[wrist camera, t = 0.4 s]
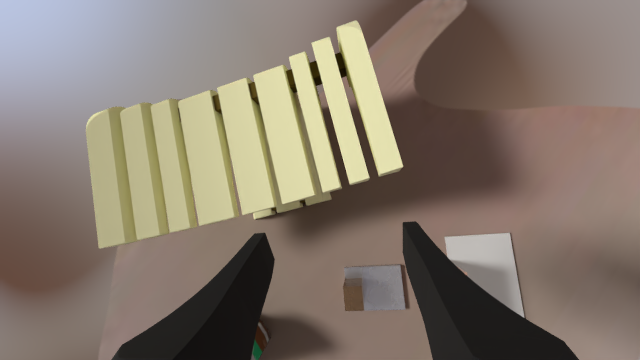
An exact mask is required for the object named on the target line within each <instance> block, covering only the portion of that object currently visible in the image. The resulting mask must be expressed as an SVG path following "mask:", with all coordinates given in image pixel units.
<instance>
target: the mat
mask: <svg viewBox="0 0 640 360" xmlns="http://www.w3.org/2000/svg"><path fill="white" fill-rule="evenodd" d="M445 243H446V250H447V257H448V258H449V259H450V260H451V261H452V262H453V263H454V264H455V265H456V266H457V267H459V268H461V269H462V270H464V271H465V272H467V274H468V277H469V278H470V279H471V280H473V281H474V282H475V283H476V284H477V285H479V286H480V287H481V288H482V289H484V290H485V291H486V292H488V293H489V294H490V295H492V296H493V297H494V298H496V299H497V300H499V301H500V302H501V303H503V304H504V305H506V306H507V307H508V308H510V309H511V310H513V311H514V312H516V313H517V314H519V315H521V316H522V317H524V312H523V307H522V301H521V295H520V289H519V284H518V278H517V272H516V266H515V260H514V255H513V249H512V243H511V237H510V233H498V234H482V235H465V236H449V237H445Z"/></svg>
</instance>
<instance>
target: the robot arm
mask: <svg viewBox="0 0 640 360" xmlns="http://www.w3.org/2000/svg"><path fill="white" fill-rule="evenodd" d="M403 255H404V260H405V264H406V269H407V273H408V276H409V279H410V282H411V285H412V288H413V290H414V293H415V296H416V299H417V302H418V305H419V308H420V311H421V314H422V317H423V321H424V324H425V328H426V332H427V336H428V340H429V344H430V349H431V353H432V357H433V360H579V359H578V358H577V357H576V355H575V354H574V353H573V352H572V351H571V349H570V348H569V347H568V346H567V345H566V344H565V342H564V341H562V340H561V339H559V338H557V337H556V336H554V335H552V334H550V333H549V332H547V331H545V330H543V329H542V328H540V327H538V326H537V325H535V324H533V323H531V322H530V321H528V320H527V319H525V318H524V317H522V316H521V315H519V314H517V313H516V312H514V311H513V310H511V309H510V308H508V307H507V306H506V305H504V304H503V303H501V302H500V301H499V300H497V299H496V298H494V297H493V296H492V295H490V294H489V293H488V292H486V291H485V290H484V289H482V288H481V287H480V286H479V285H477V284H476V283H475V282H474V281H473V280H471V279H470V278H469V277H468V276H467V275H466V274H464V273H463V272H462V271H461V270H460V269H459V268H458V267H457V266H456V265H455V264H454V263H453V262H452V261H451V260H450V259H449V258H448V257H447V256H446V255H445V254H444V253H443V252H442V251H441V250H440V249H439V248H438V247H437V246H436V245H435V244H434V242H433V241H432V240H431V239H430V238H429V237H428V236H427V234H426V233H425V232H424V231H423V229H422V228H421V227H420V225H419V224H418V223H417V222H416V221H415V222H403ZM274 260H275V259H274V256H273V254H272V251H271V248H270V245H269V243H268V240H267V237H266V234H265V233H257V234H254V235H253V236H252V237H251V238H250V239H249V240H248V241H247V242H246V244H245V245H244V246H243V247H242V248H241V249H240V250H239V252H238V253H237V254H236V255H235V256H234V257H233V258H232V259H231V260H230V262H229V263H228V264H227V265H226V266H225V267H224V268H223V269H222V270H221V271H220V272H219V273H218V274H217V275H216V276H215V277H214V278H213V279H212V280H211V281H210V282H209V283H208V284H207V285H206V286H204V287H203V288H202V289H201V290H200V291H199V292H198V293H196V294H195V295H194V296H193V297H192V298H190V299H189V300H188V301H187V302H185V303H184V304H183V305H181V306H180V307H179V308H178V309H176V310H175V311H174V312H172V313H171V314H170V315H168V316H167V317H165V318H164V319H162V320H161V321H159V322H158V323H157V324H155V325H154V326H152V327H151V328H149V329H147V330H146V331H144V332H143V333H141V334H139V335H138V336H136V337H134V338H133V339H131V340H129V341H128V342H126V343H124V344H123V345H121V347H120V348H119V350H118V351H117V353H116V354H115V355H114V357H113V358H112V360H251V357H252V351H253V346H254V341H255V336H256V331H257V326H258V322H259V318H260V315H261V312H262V308H263V305H264V302H265V299H266V295H267V292H268V289H269V285H270V282H271V278H272V273H273V267H274Z"/></svg>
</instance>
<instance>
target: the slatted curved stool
mask: <svg viewBox="0 0 640 360" xmlns="http://www.w3.org/2000/svg"><path fill="white" fill-rule="evenodd" d="M337 37H338V44H339V50H340V53H337V54H334V51H333V47H332V44H331V40H330V37H327V38H324V39H321V40H319V41H316V42H313V43H312V46H313V50H314V54H315V57H316V61H314V62H311V63H310V62H309V59H308V57H307V54H306V52H302V53H299V54H296V55H293V56H290V57H289V59H290V64H291V68H292V69H291V70H288V69H287V68H286V66H285V65H281V66H278V67H275V68H273V69H269V70H267V71H264V72H261V73H258V74H255V75H253V76H254V81H255V82H252V81H251V80H250V79H249V78H244V79H241V80H238V81H235V82H232V83H229V84H226V85H224V86H221V87H218V88H217V90H218V93H217V92H216V91H213V90H209V91H206V92H203V93H200V94H197V95H194V96H191V97H189V98H186V99H183V100H180V101H179V100H176V99H167V100H165V101H162V102H159V103H156V104H151V103H140V104H137V105H134V106H132V107H129V108H124V107H112V108H109V109H106V110H104V111H101V112H98V113H95V114H94V115H92V116H91V117H90V118H89V120H88V122H87V126H86V137H87V146H88V155H89V164H90V173H91V182H92V191H93V200H94V209H95V218H96V226H97V236H98V243H99V248H106V247H112V246H119V245H125V244H129V243H133V242H137V241H140V240H141V239H148V238H155V237H159V236H162V235H166V234H169V229H170V232H178V231H184V230H188V229H192V228H195V227H197V222H196V216H195V209H194V202H193V194H192V186H193V192H194V198H195V203H196V209H197V215H198V221H199V226H200V225H210V224H214V223H217V222H221V221H225V220H229V219H232V218H236V217H239V213H238V208H237V202H236V196H235V191H234V185H233V178H232V171H231V163H230V155H231V160H232V165H233V170H234V175H235V180H236V185H237V190H238V195H239V200H240V205H241V210H242V215H247V214H251V213H253V216H254V220H255V219H259V218H263V217H267V216H270V215H274V214H276V213H275V211H276V210H277V213H282V212H286V211H290V210H293V209H297V208H301V207H303V203H306V205H312V204H316V203H320V202H324V201H328V200H332V199H331V195H330V192H331V191H335V190H338V189H342V186H341V183H340V179H339V175H338V171H337V167H336V163H335V160H334V156H333V152H332V148H331V144H330V140H329V136H328V132H327V128H326V124H325V120H324V116H323V112H322V107H321V102H320V98H319V94H318V91H317V87H316V86H317V85H320V84H323V87H324V91H325V94H326V98H327V102H328V106H329V109H330V113H331V117H332V120H333V124H334V128H335V132H336V135H337V139H338V143H339V146H340V150H341V154H342V158H343V161H344V165H345V169H346V172H347V176H348V180H349V183H350V185H354V184H357V183H361V182H365V181H369V175H368V171H367V167H366V164H365V160H364V157H363V153H362V150H361V146H360V143H359V139H358V136H357V132H356V129H355V125H354V122H353V118H352V114H351V111H350V107H349V104H348V100H347V97H346V93H345V90H344V86H343V83H342V79H341V78H342V77H345V76H347V80H348V83H349V87H351V88H352V90H353V93H354V96H355V99H356V102H357V105H358V108H359V111H360V115H361V118H362V121H363V125H364V128H365V131H366V135H367V138H368V141H369V145H370V148H371V152H372V155H373V158H374V162H375V165H376V169H377V172H378V176H379V177H380V176H384V175H387V174H391V173H395V172H399V171H400V170H401V169H402V168H403V164H402V161H401V157H400V154H399V151H398V148H397V144H396V141H395V138H394V134H393V131H392V128H391V125H390V121H389V118H388V115H387V112H386V108H385V105H384V102H383V98H382V95H381V92H380V89H379V85H378V82H377V79H376V76H375V72H374V69H373V66H372V62H371V59H370V56H369V53H368V49H367V46H366V43H365V40H364V37H363V34H362V31H361V28H360V26H359V24H358V22H357V21H353V22H350V23H347V24H344V25H342V26H339V27H337ZM297 92H298V95H297ZM298 96H299V99H300V103H299V99H298ZM300 104H301V107H300ZM191 180H192V185H191ZM165 203H166V204H165ZM166 209H167V213H166ZM167 216H168V221H167ZM168 222H169V229H168Z"/></svg>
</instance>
